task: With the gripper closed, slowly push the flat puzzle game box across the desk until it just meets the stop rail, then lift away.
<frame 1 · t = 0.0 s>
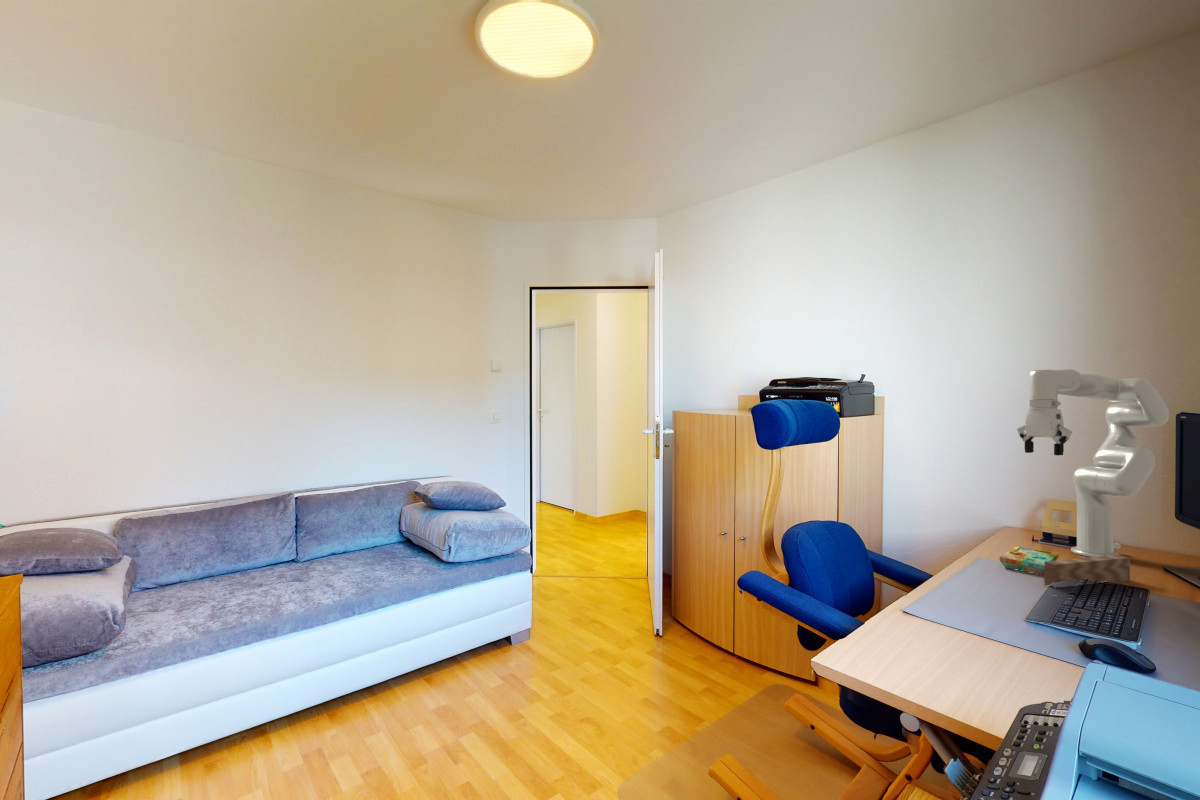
hand: (1043, 453, 183), 37 cm above the table, tool pointing down, fingers open, 9 cm apart
stop rail: (1087, 582, 158), on the table
puzzle game: (1029, 567, 175), on the table
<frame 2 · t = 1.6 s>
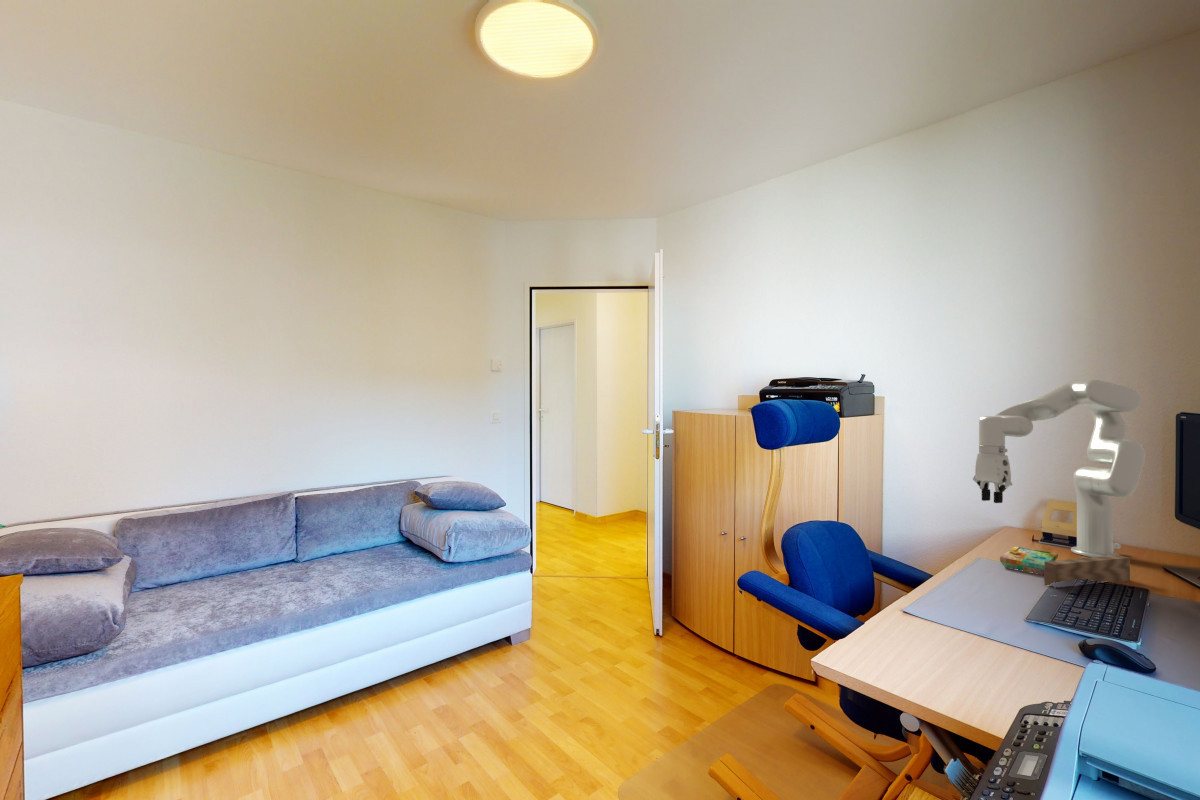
hand: (991, 501, 188), 19 cm above the table, tool pointing down, fingers open, 3 cm apart
nothing on the table moved.
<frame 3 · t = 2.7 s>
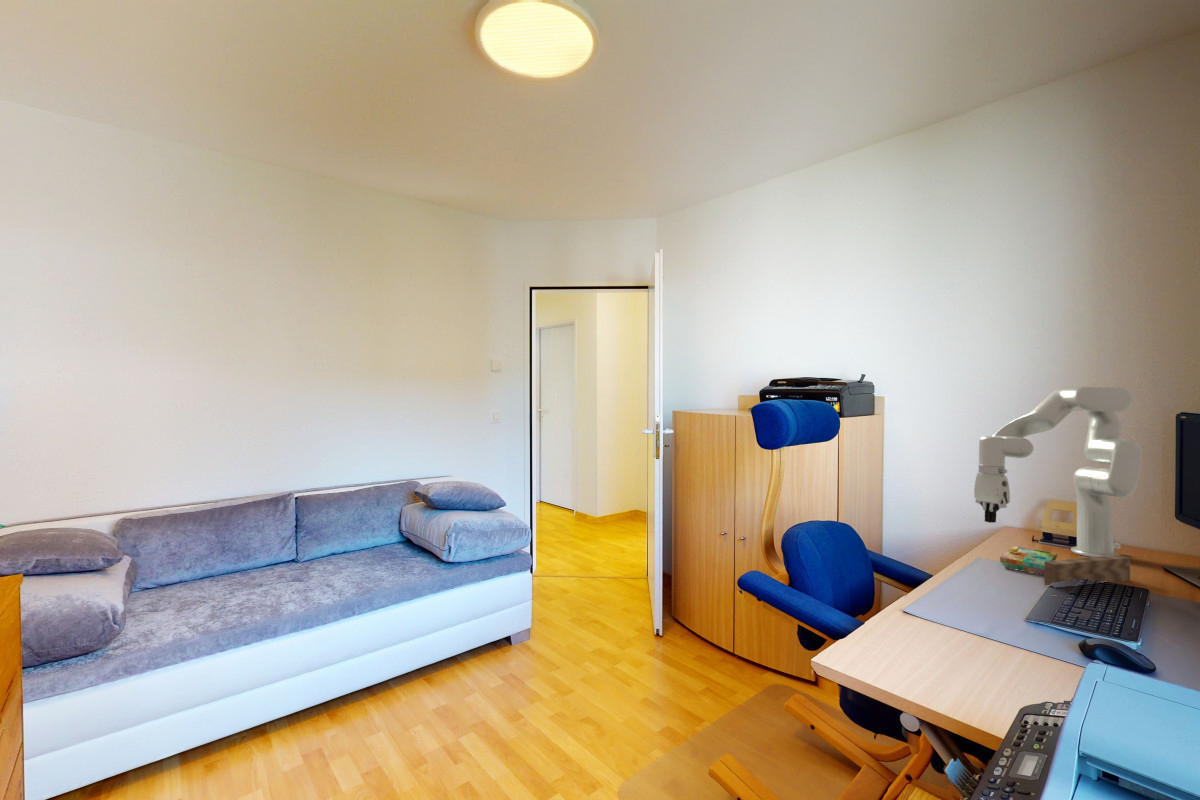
hand: (990, 521, 188), 12 cm above the table, tool pointing down, fingers closed
nothing on the table moved.
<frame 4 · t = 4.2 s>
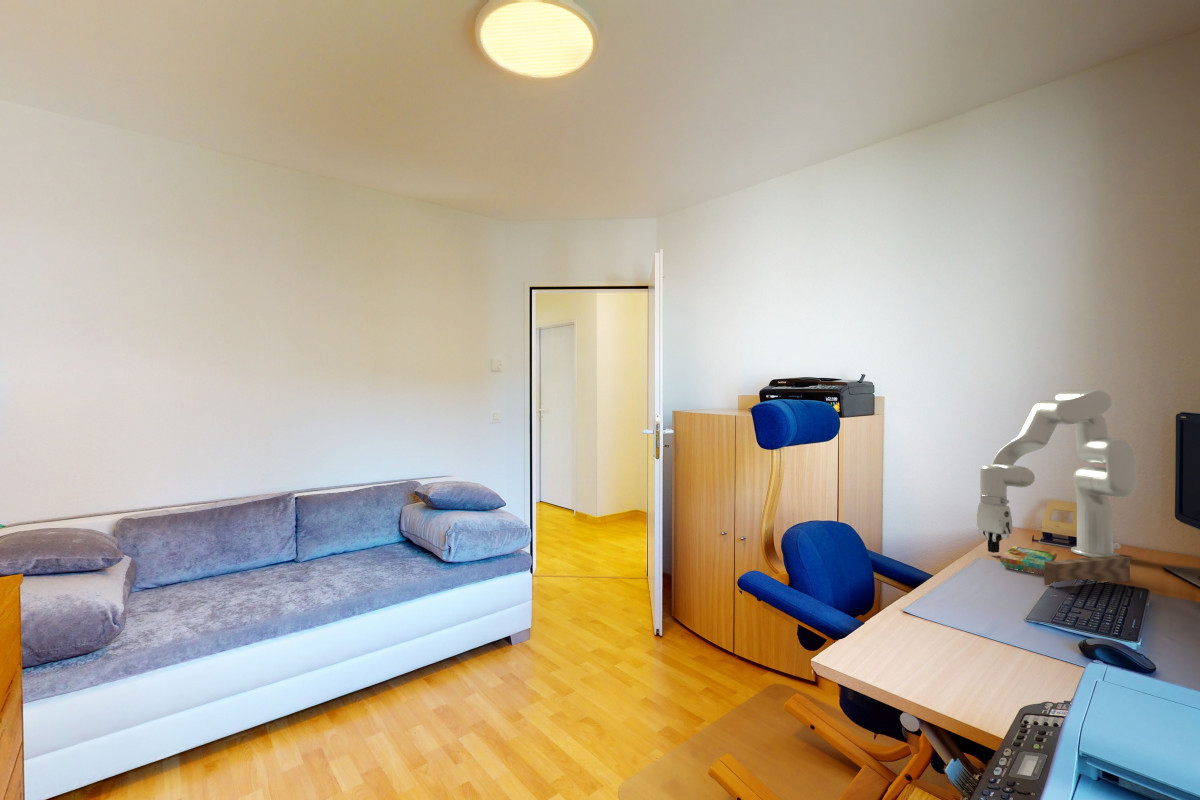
hand: (993, 551, 187), 1 cm above the table, tool pointing down, fingers closed
nothing on the table moved.
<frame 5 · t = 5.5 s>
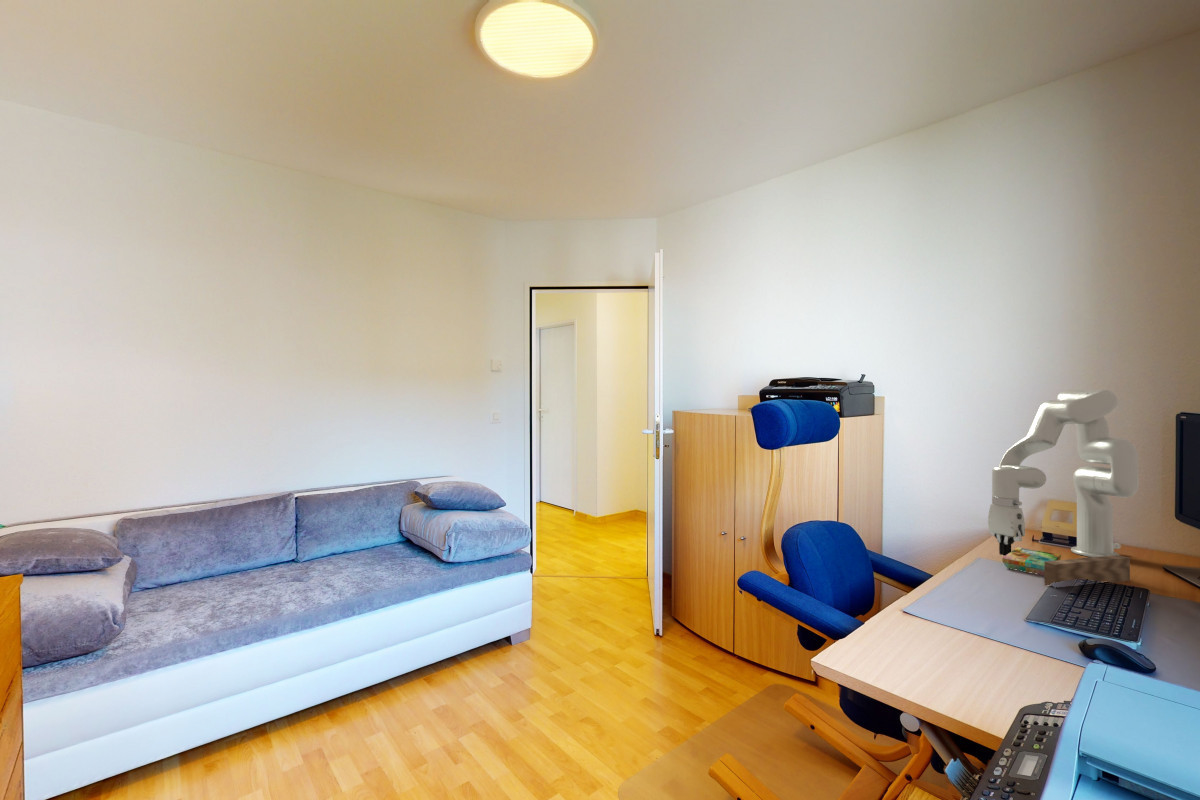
hand: (1005, 554, 183), 1 cm above the table, tool pointing down, fingers closed
puzzle game: (1032, 568, 174), on the table, touching gripper
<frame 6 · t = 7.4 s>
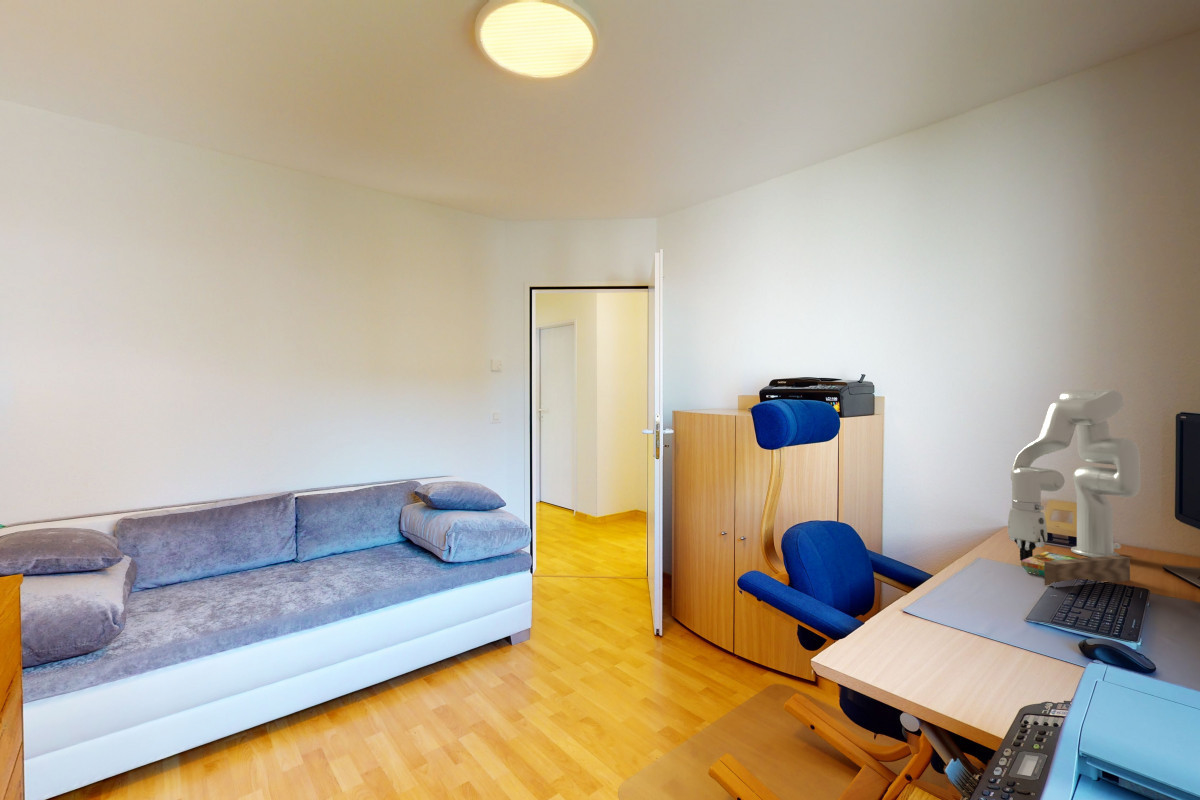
hand: (1026, 560, 176), 1 cm above the table, tool pointing down, fingers closed
puzzle game: (1056, 573, 169), on the table, touching stop rail
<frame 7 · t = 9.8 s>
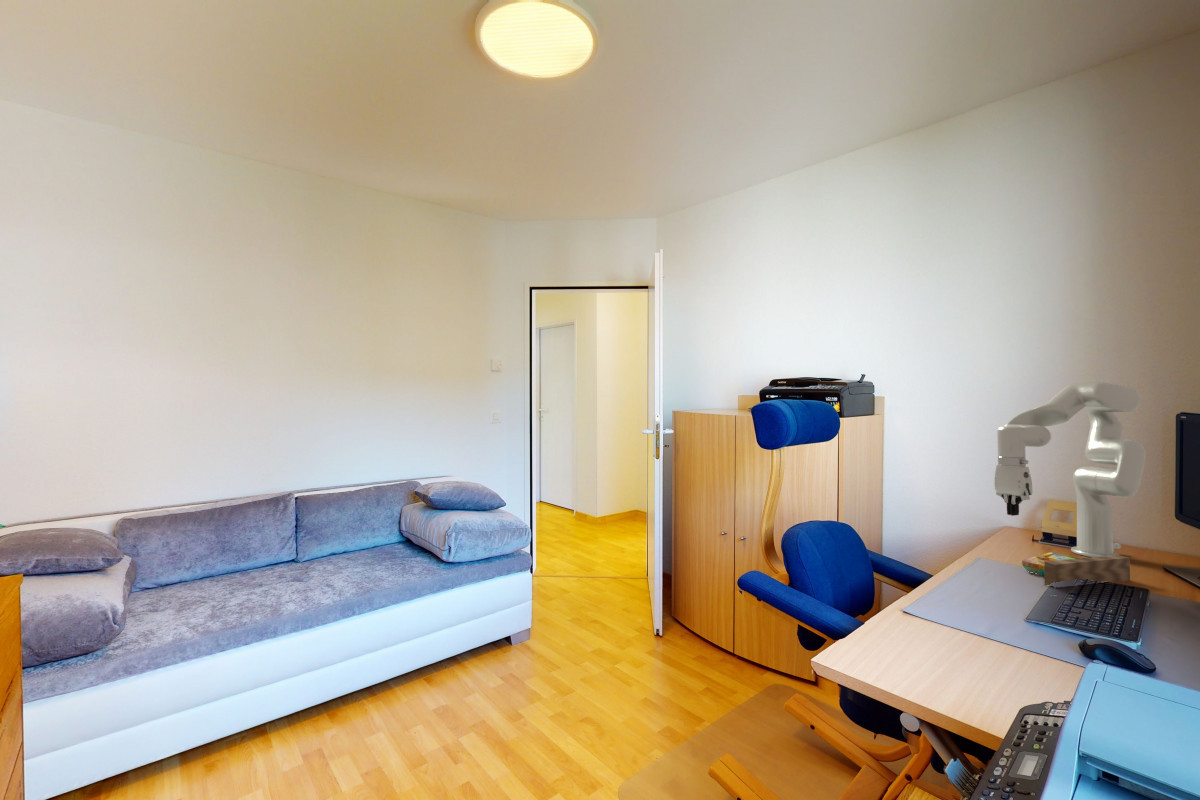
hand: (1013, 514, 181), 16 cm above the table, tool pointing down, fingers closed
puzzle game: (1058, 573, 169), on the table
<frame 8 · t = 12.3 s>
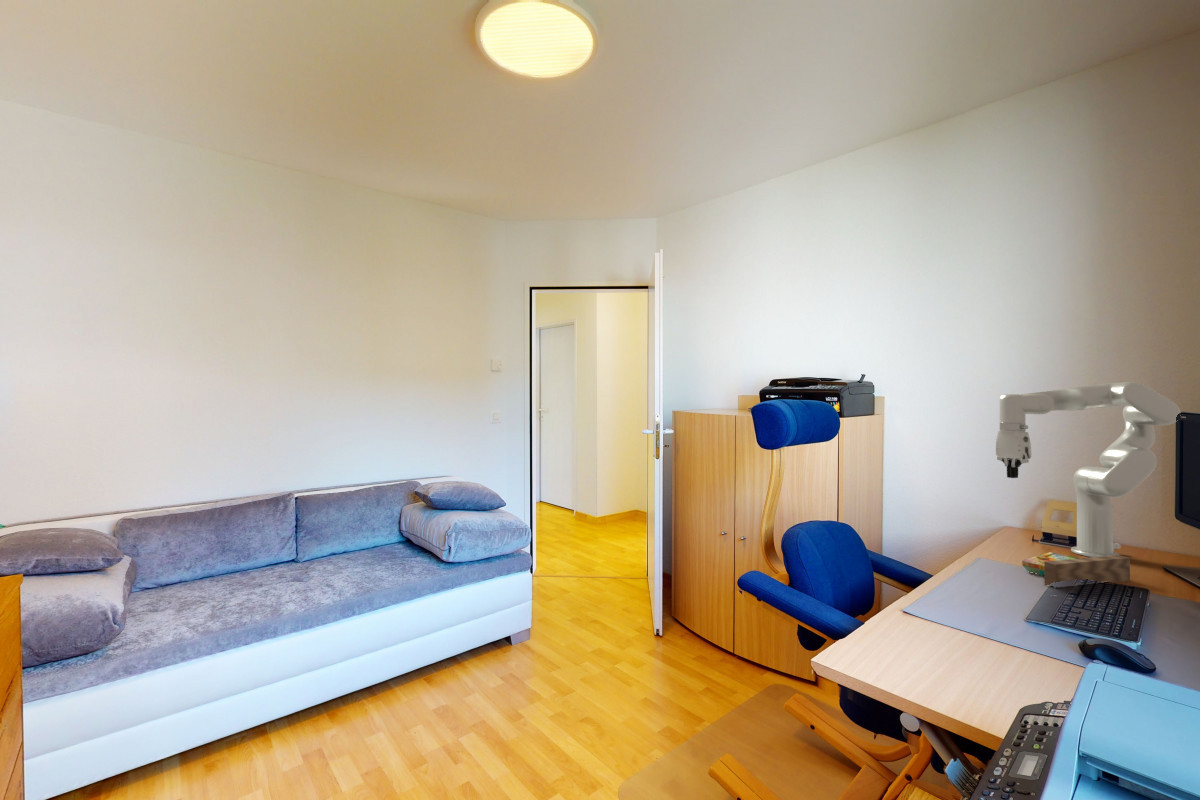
hand: (1012, 477, 193), 27 cm above the table, tool pointing down, fingers closed
nothing on the table moved.
at the end: puzzle game inside the target area (3.4 cm from its centre), on the table; puzzle game tilted 0°; puzzle game moved 7.6 cm from its start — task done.
